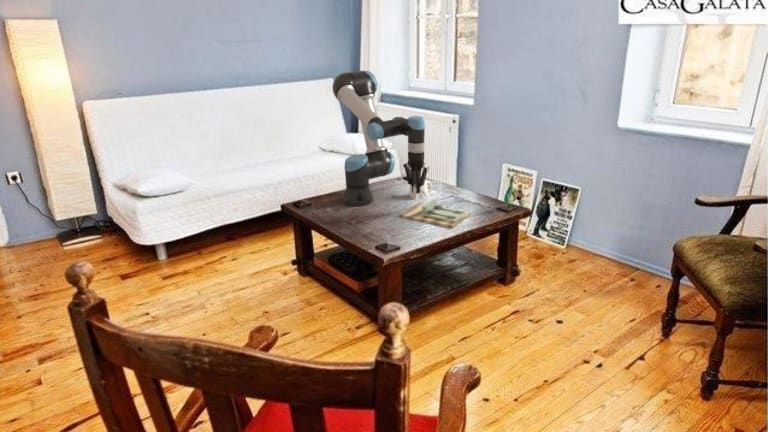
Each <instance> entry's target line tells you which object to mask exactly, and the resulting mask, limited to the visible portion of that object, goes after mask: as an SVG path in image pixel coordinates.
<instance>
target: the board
mask: <svg viewBox="0 0 768 432" xmlns="http://www.w3.org/2000/svg"><path fill="white" fill-rule="evenodd" d="M426 204H427V203H423V202H418V203H416V204H415V205H413V206H411V207H409V208H407V209H406V210H404V211H402V212H401V213H399V217H400V218H404V219H409V220H414V221H419V222H423V223H427V224H432V225H436V226H441V227H446V228H451V229H454V228H455V227H457V226H458V225H460V224H461V223H462V222H464V221H465V220H466V219H467V218H469V217H471V216H472V212H470V211H469V212H468V211H465V212H466V214H465V215H464V216H463V217H461V218H460V219H458V220H457V221H455V222H449V221H445V220H440V219H436V218H431V217H426V216H422V215H421V213H422V206H424V205H426ZM442 207H443V205H441V204H437V205H436V206H435V208H436V209H439V210H441V209H442ZM428 213H429V214H433V213H435V210H428ZM455 214H460V215H461V214H462V213H457V212H456V213H455ZM446 218H447V217H446ZM448 219H453V220H454V219H455V218H450V217H448Z"/></svg>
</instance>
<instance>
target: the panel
mask: <svg viewBox="0 0 768 432" xmlns="http://www.w3.org/2000/svg"><path fill="white" fill-rule="evenodd" d="M437 202H438V201H437V200H434V199H432V200H431V201H430V202H427V203H425V204H426V205H424V206H422V213H421V215H422V216H426V217H431V218H436V219H440V220H445V221H449V222H455V221H457V220H458V219H460V218H461V217H463V216H464V215H465V214H466V212H467V211H464V210H459V209H455V208H449V207H444V206H442V209H441V210H439V209H436V208H435V206H436V205H438V203H437ZM428 210H435V213H433V214H429V213H428ZM456 212H457V213H462V214H461V215H460V214H455V213H456ZM446 217H447V218H446ZM448 217H450V218H455V219H454V220H453V219H448Z"/></svg>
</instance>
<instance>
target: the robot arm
mask: <svg viewBox="0 0 768 432" xmlns="http://www.w3.org/2000/svg"><path fill="white" fill-rule="evenodd" d="M331 88H332V93H333V95H334V97H335V98H336V99H337V100H338V102H339V103H341V104H344V105H345V106H346V107H347V108H348V110H350V111H351V113H352V114H354V116H355V117H356V118H357V119H358V120H359V121H360V123H361V127H362V133H363V137H364V142H365V146H366V151H365V152H364V153H359V154H353V155H350V156H348V157H347V158H346V159H345V160H344V176H345V191H344V194H343V195H344V196H343V203H344V204H345V205H346V206H350V207H351V206H352V207H363V206H367V205H370V204H372V203H373V202H374V195H373V193H372V191H371V188H370V180H372V179H377V178H380V177H385V176H388V175H390V174H392V173H393V171H394V170H395V165H396V162H395V161H396V160H395V157H394V155H393V153H392V152H390V151H388V148H387V147H386V146H385V145H384V143H383V142H384V141H383V139H386V138H392V137H393V138H394V137H397V136H406V137H407V150H408V151H407V162H406V163H404V164H403V165H402V167H404V170H405V175H406V176H405V177H406V180H407V181H406V182H407V184H408V185H409V186H410V185H411V186H412V192H413V199H412V200H413V201H417V200H420V199H419V193H420V187H421V186H423V185H424V183H425V179H426V178H427V175H428V174H427V173H428V171H429V169H430V167H429V166H426V165H425V131H426V130H425V127H426V123H425V118H424V116H420V115H419V116H418V115H412V116H409V117H408V118H405V117H403V116H394V117H393V118H391V119H388V120H382V119H381V118H380V116H379V115H378V114H377V112H376V111H377V110H376V107H375V103H374V99H375V96H376V92H377V90H378V81H377V78H376V76H375V74H374V73H372V71H369V70H360V71H350V72H349V71H348V72H343V73H339V74H338V75H337V76H336V77H335V79H334V80H333V82H332V87H331ZM426 180H427V179H426Z"/></svg>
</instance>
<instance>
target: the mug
mask: <svg viewBox="0 0 768 432" xmlns="http://www.w3.org/2000/svg"><path fill="white" fill-rule="evenodd" d="M428 184H429V189H428ZM432 190H433V184H432V182H431V181H428V180H427V179H425V183H424V185H423V186H421V187H420V193H419V199H418V200H423V199H426V198H428V197H429V194H431V192H432ZM408 191H409V192H408V195H409V199H412V200H413V192H412V186H411V185H410V184H409V190H408Z"/></svg>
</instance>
